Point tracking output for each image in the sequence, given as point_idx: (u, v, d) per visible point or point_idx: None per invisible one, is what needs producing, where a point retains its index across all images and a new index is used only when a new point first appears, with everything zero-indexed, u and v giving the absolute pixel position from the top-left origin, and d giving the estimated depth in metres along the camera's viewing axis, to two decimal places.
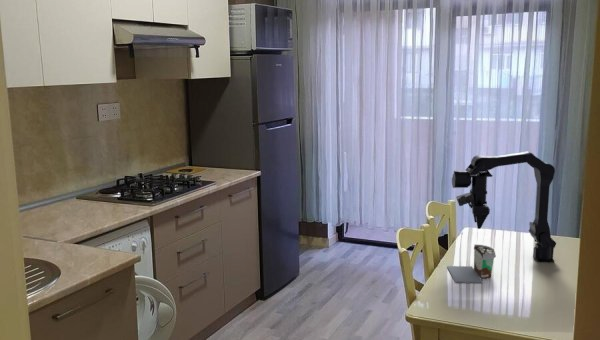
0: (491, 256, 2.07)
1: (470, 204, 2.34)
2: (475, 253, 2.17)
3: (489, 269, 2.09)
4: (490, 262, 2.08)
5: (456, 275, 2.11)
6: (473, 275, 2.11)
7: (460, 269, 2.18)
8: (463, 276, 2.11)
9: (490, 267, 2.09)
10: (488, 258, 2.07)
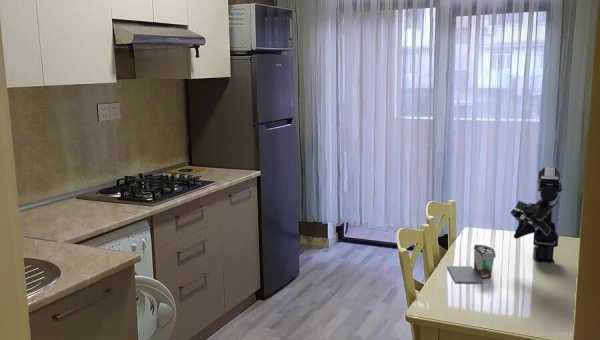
0: (491, 256, 2.07)
1: None
2: (475, 253, 2.17)
3: (489, 269, 2.09)
4: (490, 262, 2.08)
5: (456, 275, 2.11)
6: (473, 275, 2.11)
7: (460, 269, 2.18)
8: (463, 276, 2.11)
9: (490, 267, 2.09)
10: (488, 258, 2.07)
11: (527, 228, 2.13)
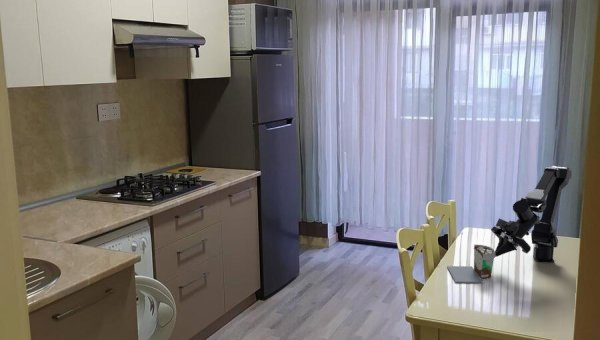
0: (491, 256, 2.07)
1: None
2: (475, 253, 2.17)
3: (489, 269, 2.09)
4: (490, 262, 2.08)
5: (456, 275, 2.11)
6: (473, 275, 2.11)
7: (460, 269, 2.18)
8: (463, 276, 2.11)
9: (490, 267, 2.09)
10: (488, 258, 2.07)
11: (507, 246, 2.12)
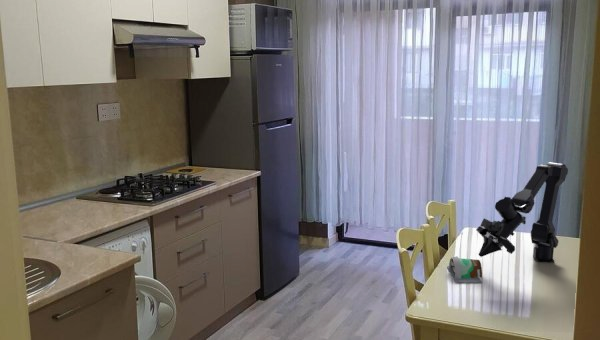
0: (458, 269, 2.09)
1: None
2: None
3: (472, 268, 2.09)
4: (464, 268, 2.09)
5: None
6: None
7: None
8: None
9: (470, 267, 2.10)
10: (459, 273, 2.08)
11: (492, 246, 2.11)
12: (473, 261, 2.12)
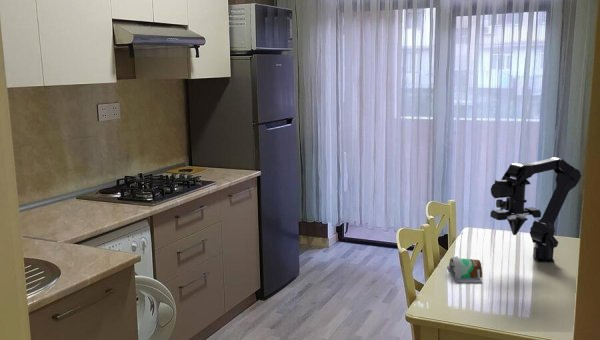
0: (458, 269, 2.09)
1: None
2: None
3: (472, 268, 2.09)
4: (464, 268, 2.09)
5: None
6: None
7: None
8: None
9: (470, 267, 2.10)
10: (459, 273, 2.08)
11: (512, 221, 2.21)
12: (473, 261, 2.12)
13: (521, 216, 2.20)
